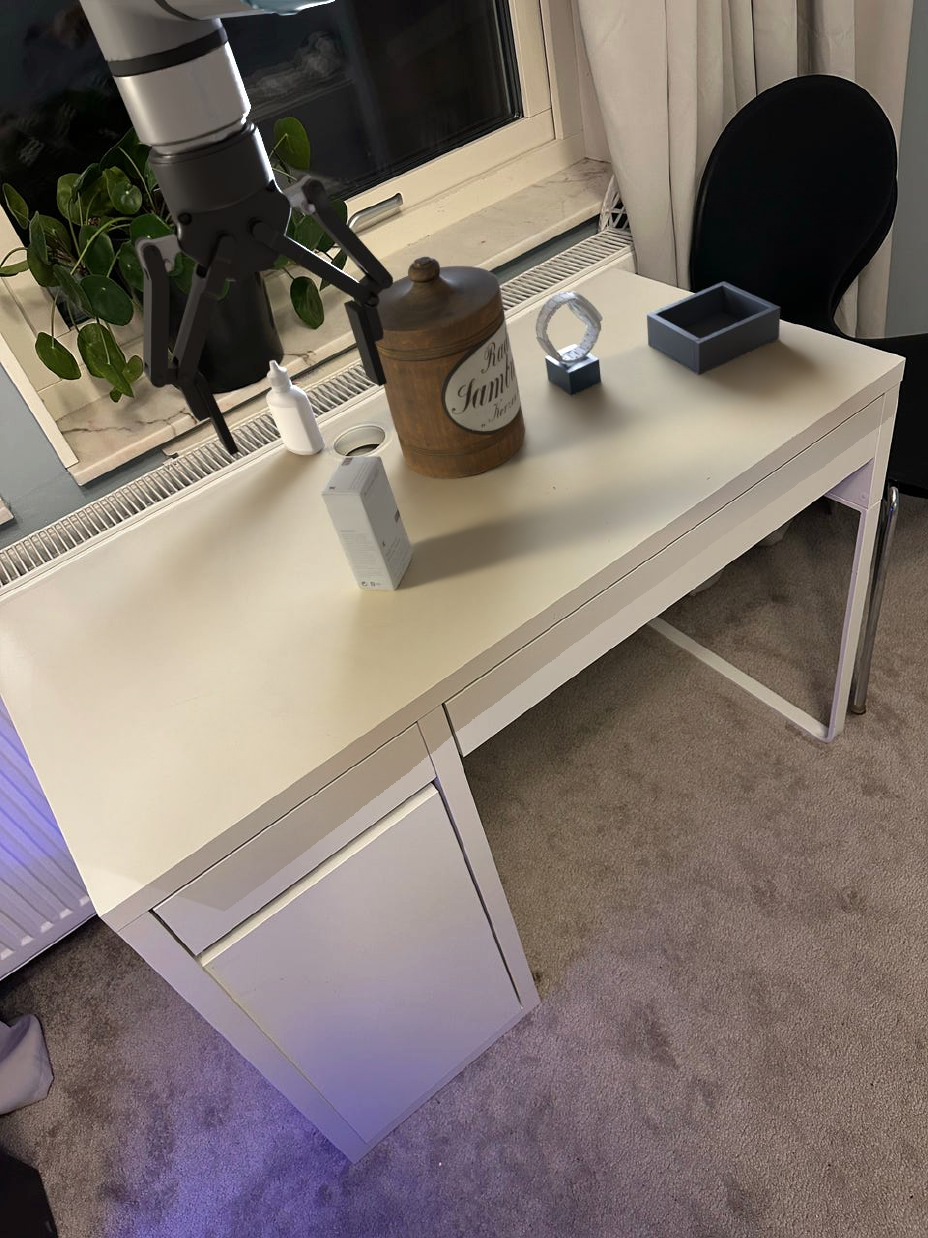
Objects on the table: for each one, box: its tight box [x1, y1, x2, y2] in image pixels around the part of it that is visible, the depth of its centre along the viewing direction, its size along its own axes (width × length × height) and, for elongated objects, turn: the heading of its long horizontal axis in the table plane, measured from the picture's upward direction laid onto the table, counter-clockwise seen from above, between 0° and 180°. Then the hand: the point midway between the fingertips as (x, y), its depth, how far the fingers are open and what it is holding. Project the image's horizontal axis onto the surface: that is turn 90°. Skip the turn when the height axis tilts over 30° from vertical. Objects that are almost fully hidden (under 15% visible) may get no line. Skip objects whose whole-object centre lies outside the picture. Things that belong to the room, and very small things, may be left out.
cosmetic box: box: [320, 455, 413, 592], centre depth 82 cm, size 6×4×12 cm
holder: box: [646, 280, 781, 376], centre depth 104 cm, size 11×12×4 cm
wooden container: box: [375, 256, 526, 479], centre depth 93 cm, size 15×15×22 cm
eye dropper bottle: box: [265, 359, 326, 456], centre depth 103 cm, size 4×6×12 cm
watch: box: [535, 290, 603, 396], centre depth 102 cm, size 6×8×11 cm
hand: (305, 412), depth 70 cm, fingers open, 13 cm apart
